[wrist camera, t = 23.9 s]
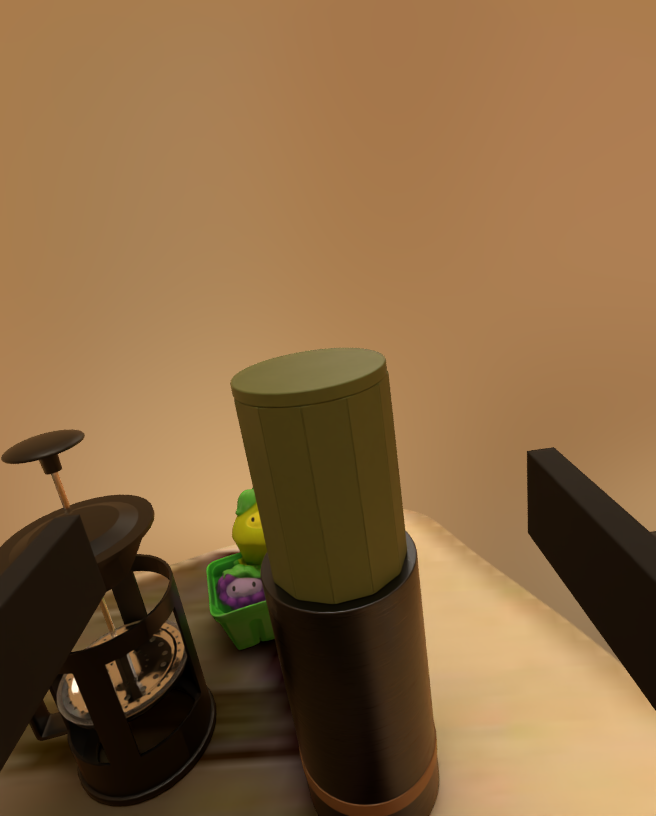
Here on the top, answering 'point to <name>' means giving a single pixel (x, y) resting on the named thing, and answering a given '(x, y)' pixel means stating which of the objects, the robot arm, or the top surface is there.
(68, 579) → the robot arm
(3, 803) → the top surface
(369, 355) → the olive tea canister
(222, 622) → the fruit basket
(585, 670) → the top surface
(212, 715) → the french press
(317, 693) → the flask
